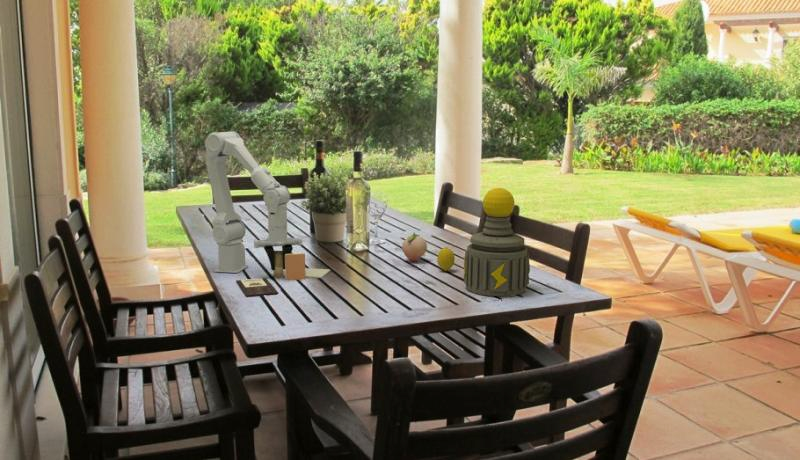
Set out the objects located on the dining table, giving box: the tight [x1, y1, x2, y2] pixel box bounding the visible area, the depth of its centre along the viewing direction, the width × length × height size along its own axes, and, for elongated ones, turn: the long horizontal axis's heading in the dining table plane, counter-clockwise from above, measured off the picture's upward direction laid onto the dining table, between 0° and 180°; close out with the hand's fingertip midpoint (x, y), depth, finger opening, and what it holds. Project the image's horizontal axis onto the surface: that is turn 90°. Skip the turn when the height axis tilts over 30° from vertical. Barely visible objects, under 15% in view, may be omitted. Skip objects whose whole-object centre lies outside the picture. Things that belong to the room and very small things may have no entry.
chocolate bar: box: [235, 277, 279, 298], centre depth 216 cm, size 9×1×18 cm
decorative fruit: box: [401, 232, 428, 262], centre depth 251 cm, size 9×8×10 cm
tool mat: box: [305, 267, 331, 279], centre depth 233 cm, size 10×9×1 cm
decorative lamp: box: [463, 187, 531, 298], centre depth 214 cm, size 19×19×30 cm
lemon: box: [436, 246, 455, 272], centre depth 237 cm, size 6×6×8 cm
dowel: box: [273, 250, 285, 279], centre depth 228 cm, size 3×3×8 cm
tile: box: [284, 252, 306, 281], centre depth 225 cm, size 1×6×8 cm, turn 110°
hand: (278, 269), depth 229 cm, fingers closed on dowel, 3 cm apart
